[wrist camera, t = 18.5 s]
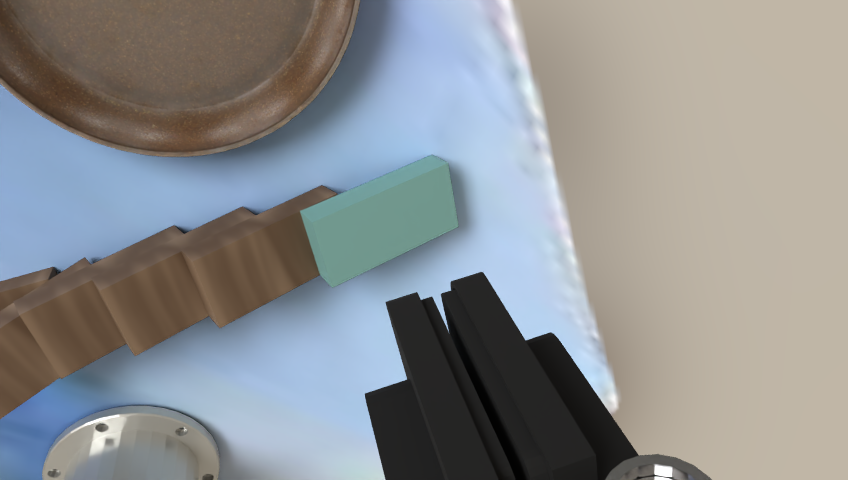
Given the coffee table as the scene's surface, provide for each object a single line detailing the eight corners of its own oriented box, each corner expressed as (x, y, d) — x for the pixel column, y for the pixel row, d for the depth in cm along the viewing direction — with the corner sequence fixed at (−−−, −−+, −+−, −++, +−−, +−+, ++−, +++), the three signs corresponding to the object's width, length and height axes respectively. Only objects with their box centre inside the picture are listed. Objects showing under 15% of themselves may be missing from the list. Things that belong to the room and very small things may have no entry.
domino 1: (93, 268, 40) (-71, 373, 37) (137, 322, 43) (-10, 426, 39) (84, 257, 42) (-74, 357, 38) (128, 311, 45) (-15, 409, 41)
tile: (443, 216, 47) (320, 274, 44) (432, 154, 45) (299, 211, 41) (458, 226, 46) (332, 287, 42) (447, 162, 43) (312, 222, 40)
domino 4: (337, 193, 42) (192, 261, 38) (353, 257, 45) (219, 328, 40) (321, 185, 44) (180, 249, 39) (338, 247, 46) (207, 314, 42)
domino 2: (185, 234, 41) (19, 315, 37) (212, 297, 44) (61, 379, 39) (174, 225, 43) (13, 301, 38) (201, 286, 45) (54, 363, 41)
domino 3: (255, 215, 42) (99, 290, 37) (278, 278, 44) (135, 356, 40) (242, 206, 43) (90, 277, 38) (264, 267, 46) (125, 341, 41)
